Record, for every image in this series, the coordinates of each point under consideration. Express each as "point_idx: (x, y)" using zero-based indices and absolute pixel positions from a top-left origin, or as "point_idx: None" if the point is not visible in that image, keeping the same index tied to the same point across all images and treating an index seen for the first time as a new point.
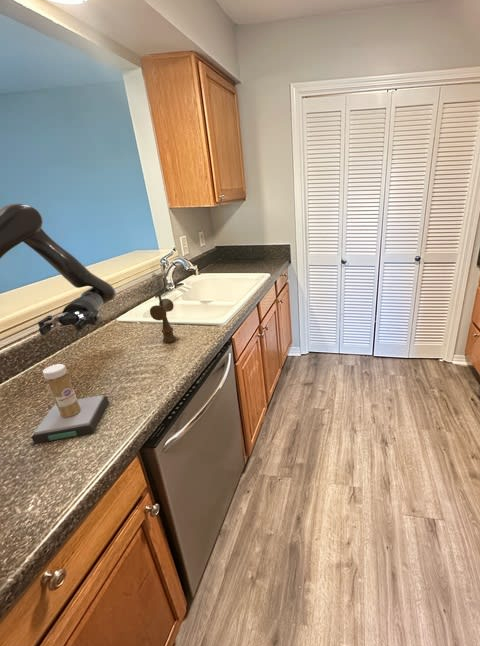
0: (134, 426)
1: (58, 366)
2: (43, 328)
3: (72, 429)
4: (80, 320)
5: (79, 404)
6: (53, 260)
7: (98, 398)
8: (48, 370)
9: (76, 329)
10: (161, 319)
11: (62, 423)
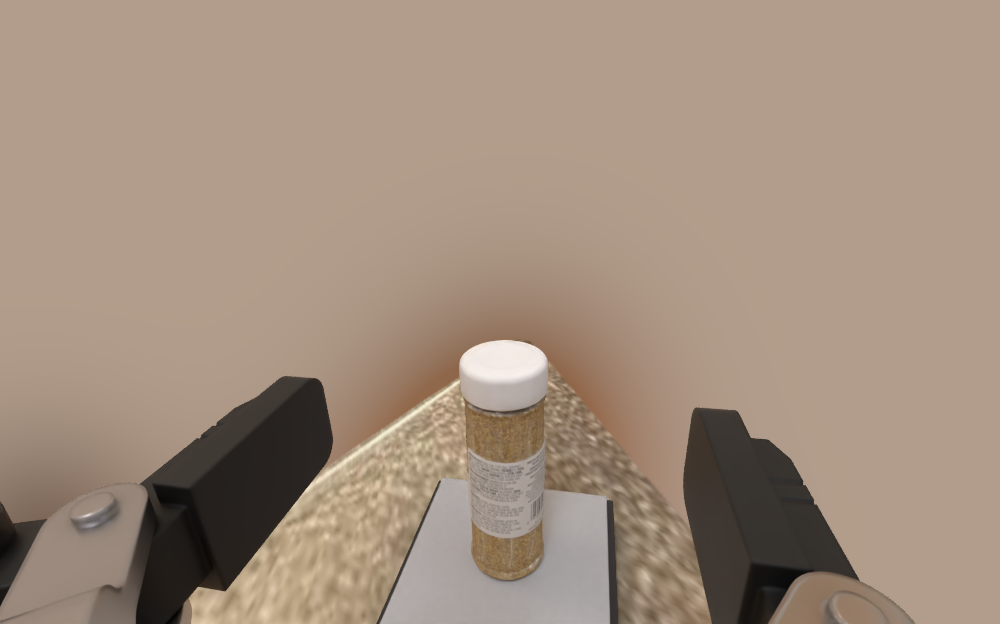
0: (330, 486)
1: (485, 360)
2: (697, 429)
3: None
4: (201, 449)
5: (482, 598)
6: None
7: (400, 612)
8: (520, 350)
9: (326, 426)
10: None
11: None
